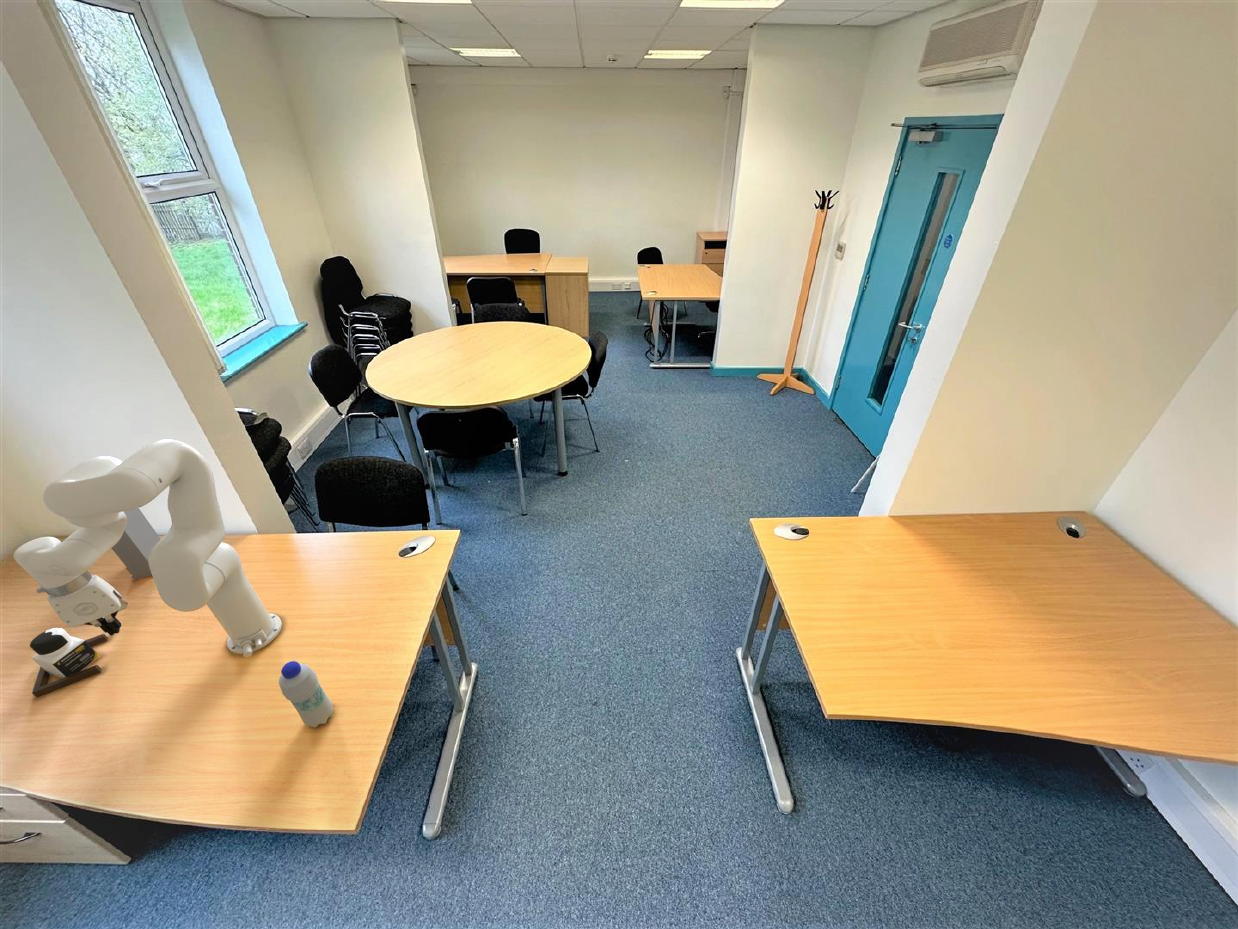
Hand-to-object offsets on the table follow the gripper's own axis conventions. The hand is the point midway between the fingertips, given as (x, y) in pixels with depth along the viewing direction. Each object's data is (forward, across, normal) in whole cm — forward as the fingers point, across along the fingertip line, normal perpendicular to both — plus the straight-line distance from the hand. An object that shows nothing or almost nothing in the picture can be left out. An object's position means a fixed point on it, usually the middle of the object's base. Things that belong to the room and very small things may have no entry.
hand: (115, 630), depth 126 cm
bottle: (+9, +39, -52) cm, 65 cm away
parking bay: (+6, -11, 0) cm, 12 cm away
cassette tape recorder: (+6, +2, +36) cm, 37 cm away
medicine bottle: (+6, -11, +1) cm, 13 cm away
